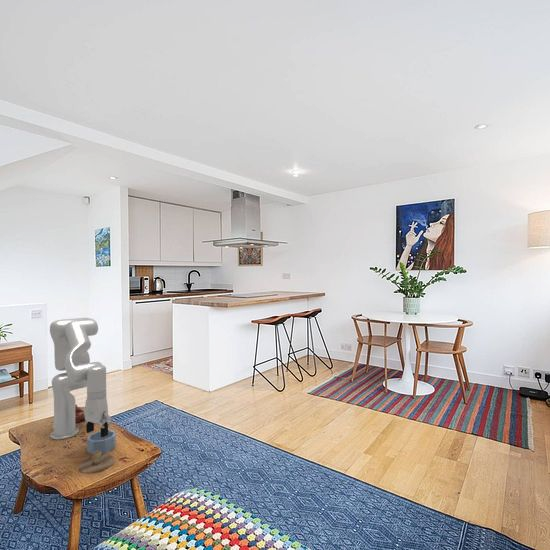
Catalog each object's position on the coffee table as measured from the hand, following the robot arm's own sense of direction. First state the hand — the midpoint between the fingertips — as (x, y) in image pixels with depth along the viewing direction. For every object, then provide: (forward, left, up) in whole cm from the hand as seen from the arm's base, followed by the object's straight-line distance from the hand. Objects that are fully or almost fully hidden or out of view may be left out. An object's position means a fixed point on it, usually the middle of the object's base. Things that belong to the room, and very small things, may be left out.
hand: (97, 433), depth 151 cm
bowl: (-12, +10, -13) cm, 20 cm away
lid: (-1, 0, -14) cm, 14 cm away
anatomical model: (-54, +24, -14) cm, 61 cm away
